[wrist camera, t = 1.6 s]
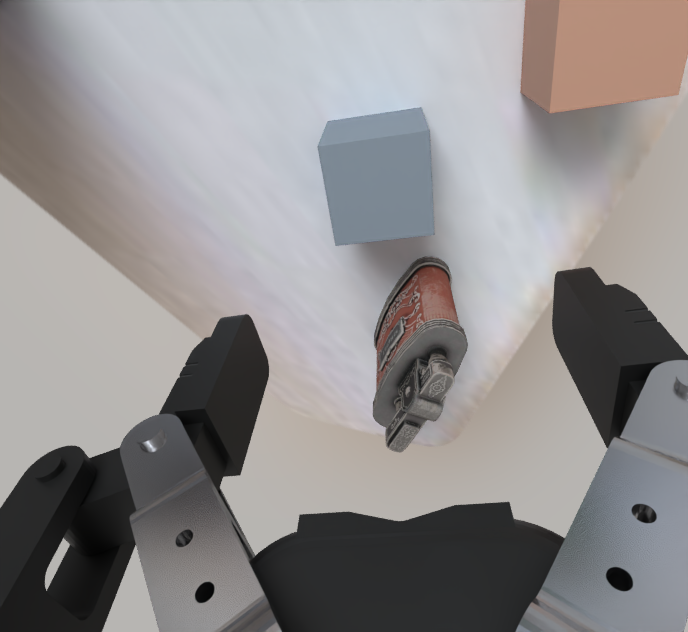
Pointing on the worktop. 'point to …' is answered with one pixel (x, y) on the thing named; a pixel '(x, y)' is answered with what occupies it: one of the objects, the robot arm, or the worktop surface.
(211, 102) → the worktop surface
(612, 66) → the terracotta block
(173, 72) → the worktop surface
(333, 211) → the slate block
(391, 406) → the lighter
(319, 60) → the worktop surface
